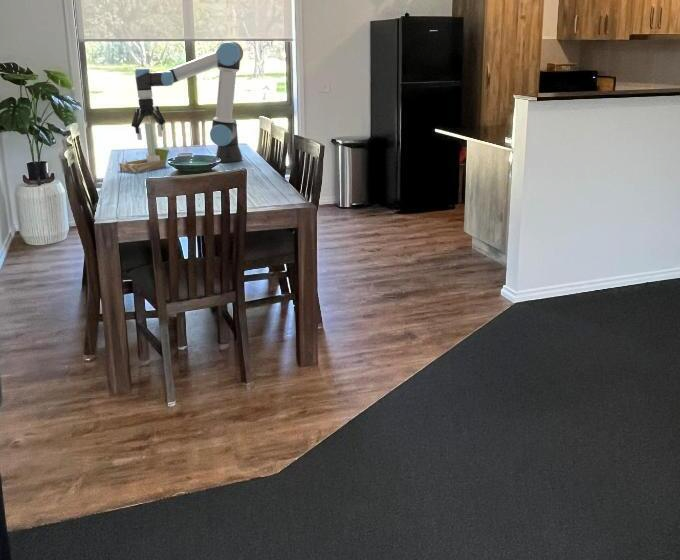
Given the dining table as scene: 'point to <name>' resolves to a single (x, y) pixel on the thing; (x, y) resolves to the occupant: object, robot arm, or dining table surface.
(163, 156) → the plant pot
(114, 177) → the dining table surface
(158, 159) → the puller
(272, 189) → the dining table surface
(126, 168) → the wooden tray
